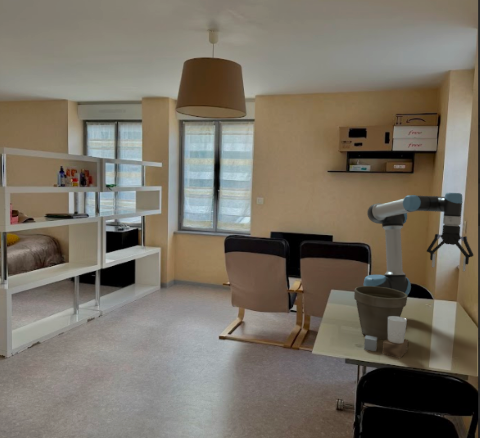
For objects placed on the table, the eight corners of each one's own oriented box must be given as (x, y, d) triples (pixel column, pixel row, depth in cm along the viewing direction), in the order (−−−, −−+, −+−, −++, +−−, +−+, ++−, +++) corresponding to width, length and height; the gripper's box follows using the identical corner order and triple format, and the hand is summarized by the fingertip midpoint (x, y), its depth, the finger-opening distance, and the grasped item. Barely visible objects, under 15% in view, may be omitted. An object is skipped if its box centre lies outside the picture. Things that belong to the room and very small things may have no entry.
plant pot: (415, 339, 211) (418, 295, 209) (379, 346, 199) (382, 299, 197) (376, 324, 233) (378, 284, 231) (341, 330, 220) (343, 287, 219)
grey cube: (364, 349, 194) (364, 338, 194) (365, 345, 199) (365, 335, 198) (375, 351, 192) (376, 340, 192) (376, 347, 197) (377, 337, 197)
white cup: (393, 344, 187) (394, 321, 186) (382, 338, 194) (384, 316, 194) (409, 343, 189) (410, 321, 188) (397, 337, 197) (399, 315, 196)
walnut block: (382, 353, 190) (383, 342, 189) (390, 346, 199) (390, 336, 198) (400, 357, 185) (400, 346, 185) (407, 350, 194) (407, 339, 194)
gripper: (422, 223, 213) (419, 266, 214) (479, 227, 198) (476, 273, 199) (425, 222, 219) (422, 264, 220) (482, 226, 204) (478, 271, 205)
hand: (448, 269), depth 210 cm, fingers open, 13 cm apart
